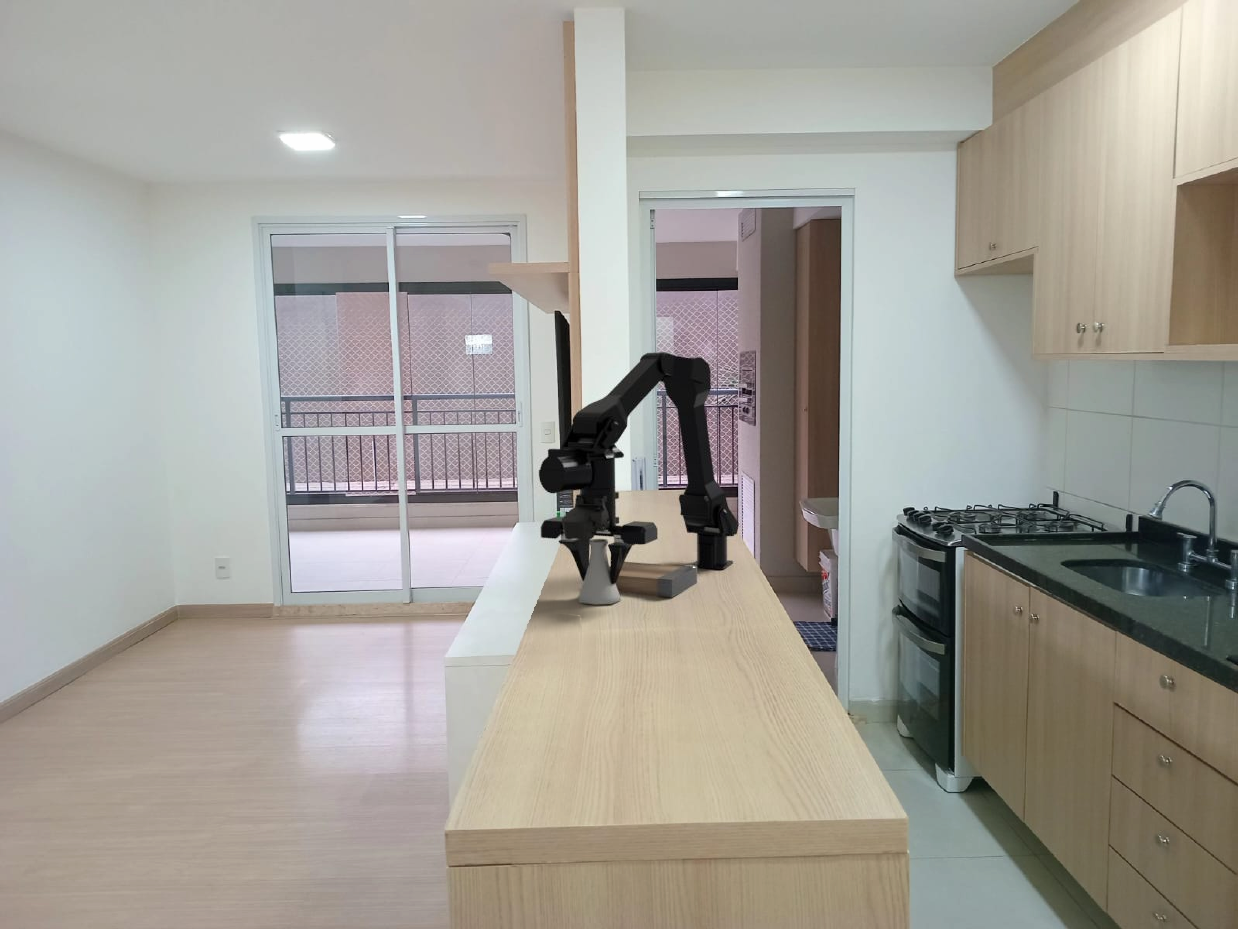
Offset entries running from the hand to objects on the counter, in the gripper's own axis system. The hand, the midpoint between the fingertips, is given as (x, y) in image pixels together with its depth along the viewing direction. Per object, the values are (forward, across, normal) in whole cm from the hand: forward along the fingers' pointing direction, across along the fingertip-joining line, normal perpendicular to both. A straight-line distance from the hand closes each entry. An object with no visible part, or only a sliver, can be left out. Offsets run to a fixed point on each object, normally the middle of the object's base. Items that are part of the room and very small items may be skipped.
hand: (599, 582), depth 140 cm
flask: (+3, 0, 0) cm, 3 cm away
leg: (+3, +10, +16) cm, 19 cm away
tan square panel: (+3, +2, +12) cm, 12 cm away
